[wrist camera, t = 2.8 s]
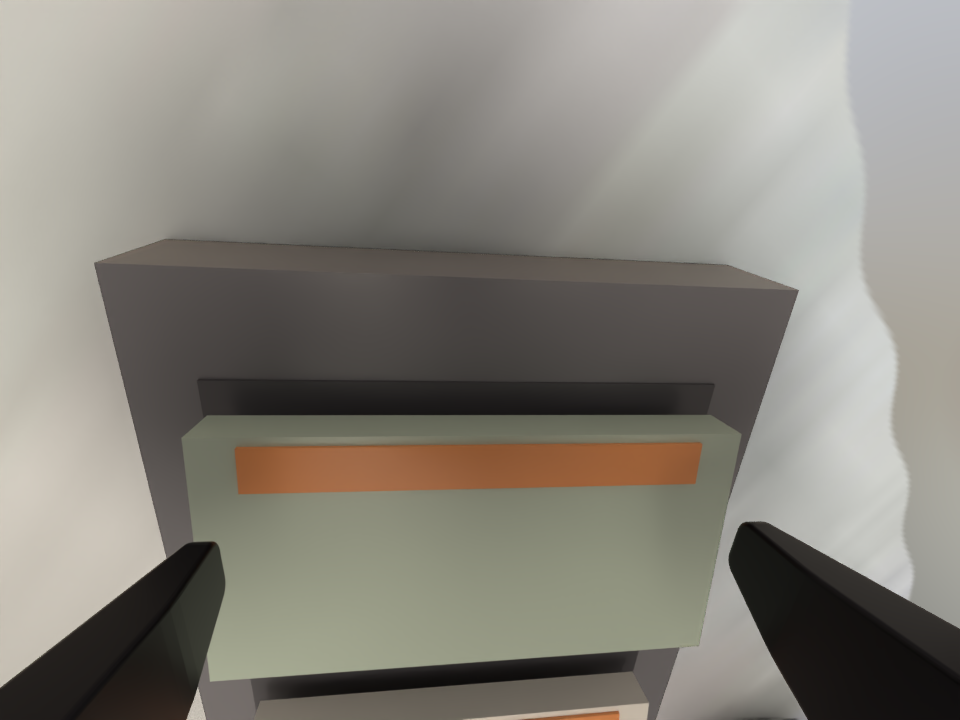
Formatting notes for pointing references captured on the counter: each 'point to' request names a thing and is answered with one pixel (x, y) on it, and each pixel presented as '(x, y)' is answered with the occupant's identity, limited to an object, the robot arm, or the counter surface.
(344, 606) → the green rocker
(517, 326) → the rocker switch panel
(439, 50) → the counter surface
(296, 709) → the plate
